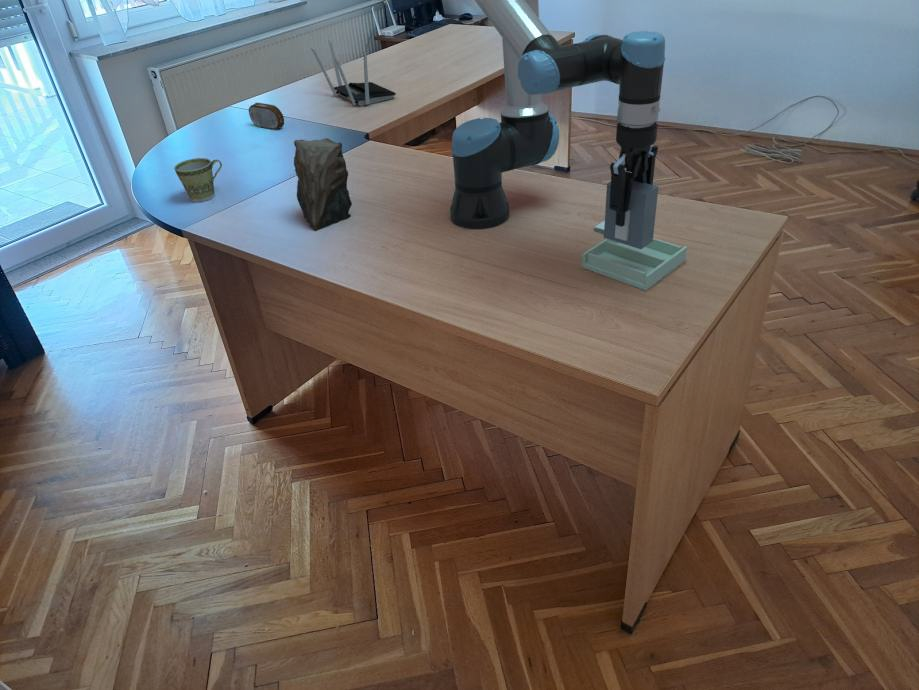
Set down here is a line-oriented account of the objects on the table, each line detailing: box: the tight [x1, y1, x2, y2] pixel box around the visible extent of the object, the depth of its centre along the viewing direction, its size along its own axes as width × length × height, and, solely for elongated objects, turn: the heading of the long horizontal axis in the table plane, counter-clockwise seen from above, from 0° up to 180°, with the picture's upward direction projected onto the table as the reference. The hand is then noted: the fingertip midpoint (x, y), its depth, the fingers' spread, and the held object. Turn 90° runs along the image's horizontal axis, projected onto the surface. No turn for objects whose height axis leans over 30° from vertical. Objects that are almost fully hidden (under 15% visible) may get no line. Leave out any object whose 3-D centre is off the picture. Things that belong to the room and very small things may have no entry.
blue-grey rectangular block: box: [603, 181, 659, 249], centre depth 140 cm, size 9×4×12 cm, turn 46°
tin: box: [248, 102, 285, 131], centre depth 244 cm, size 15×3×8 cm, turn 58°
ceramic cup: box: [173, 157, 223, 203], centre depth 195 cm, size 13×10×10 cm
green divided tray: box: [581, 237, 688, 291], centre depth 149 cm, size 16×16×3 cm
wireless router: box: [310, 38, 397, 107], centre depth 263 cm, size 34×23×20 cm
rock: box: [293, 137, 353, 232], centre depth 175 cm, size 13×13×20 cm
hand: (628, 233), depth 143 cm, fingers closed on blue-grey rectangular block, 4 cm apart
